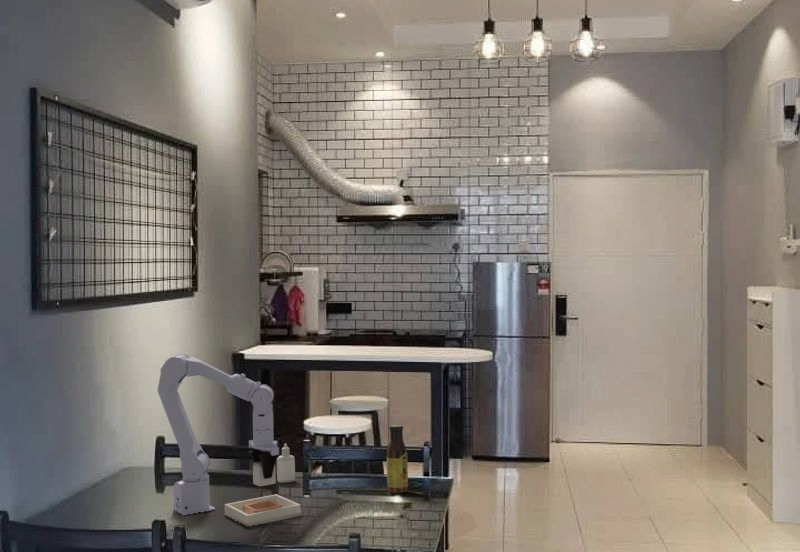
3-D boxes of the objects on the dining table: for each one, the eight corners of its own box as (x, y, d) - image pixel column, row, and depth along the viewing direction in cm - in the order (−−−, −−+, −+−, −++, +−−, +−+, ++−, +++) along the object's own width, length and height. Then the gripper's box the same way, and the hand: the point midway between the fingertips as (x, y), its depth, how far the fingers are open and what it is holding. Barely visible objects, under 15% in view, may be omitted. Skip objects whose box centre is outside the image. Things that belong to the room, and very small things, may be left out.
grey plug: (259, 486, 234) (259, 464, 234) (253, 483, 237) (252, 462, 237) (275, 483, 237) (275, 462, 237) (269, 480, 240) (268, 459, 240)
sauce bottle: (407, 494, 248) (406, 427, 248) (386, 494, 249) (385, 427, 248) (408, 488, 255) (406, 423, 255) (387, 488, 255) (386, 423, 255)
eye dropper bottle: (291, 483, 264) (290, 445, 264) (275, 482, 265) (274, 444, 265) (297, 480, 268) (296, 442, 268) (280, 479, 270) (280, 442, 269)
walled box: (247, 527, 219) (246, 515, 219) (224, 515, 231) (224, 504, 231) (300, 515, 229) (300, 504, 229) (276, 504, 240) (276, 494, 240)
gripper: (288, 430, 233) (289, 479, 233) (263, 423, 245) (264, 469, 245) (265, 433, 229) (266, 483, 229) (241, 426, 241) (242, 473, 241)
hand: (264, 476), depth 237 cm, fingers closed on grey plug, 4 cm apart
